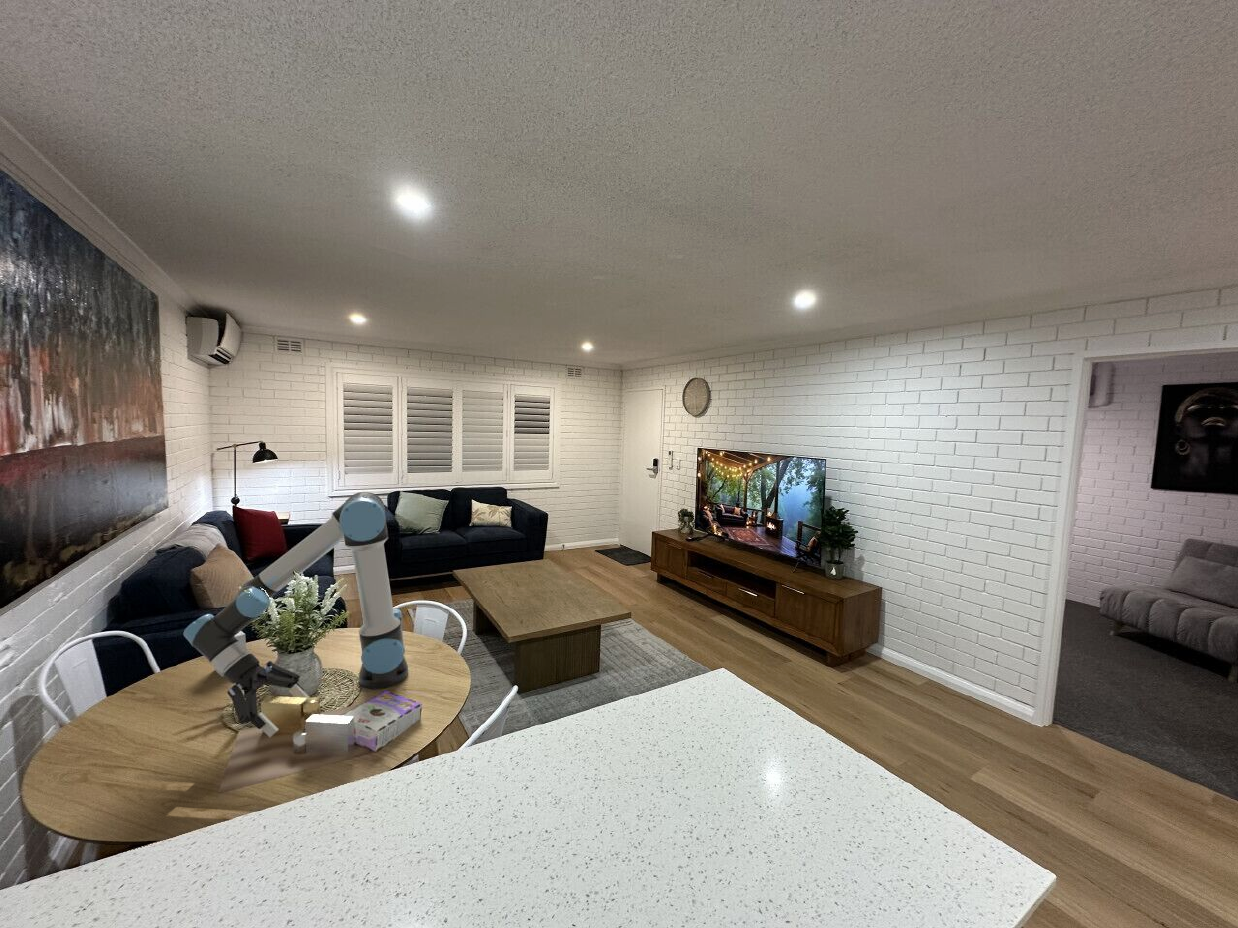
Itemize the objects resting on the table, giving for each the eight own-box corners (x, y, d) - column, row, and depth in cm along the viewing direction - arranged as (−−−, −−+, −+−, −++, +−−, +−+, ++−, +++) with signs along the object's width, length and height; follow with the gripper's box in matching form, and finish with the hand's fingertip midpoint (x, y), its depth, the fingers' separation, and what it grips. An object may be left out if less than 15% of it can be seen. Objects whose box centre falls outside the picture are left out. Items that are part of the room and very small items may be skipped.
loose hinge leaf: (271, 724, 141) (270, 694, 140) (323, 727, 140) (322, 697, 139) (261, 733, 137) (259, 702, 136) (314, 736, 136) (313, 705, 135)
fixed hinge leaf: (300, 743, 133) (299, 712, 132) (355, 746, 133) (354, 715, 132) (290, 754, 129) (288, 721, 128) (346, 757, 129) (346, 724, 128)
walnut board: (239, 734, 138) (239, 730, 138) (368, 705, 153) (368, 702, 153) (218, 797, 116) (218, 793, 116) (371, 756, 131) (371, 752, 131)
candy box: (384, 708, 151) (336, 736, 136) (386, 689, 151) (338, 715, 135) (420, 722, 146) (375, 753, 131) (422, 703, 146) (377, 731, 130)
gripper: (261, 649, 149) (312, 699, 151) (186, 697, 125) (248, 757, 126) (278, 633, 149) (328, 684, 150) (206, 678, 124) (267, 738, 125)
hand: (292, 717), depth 138 cm, fingers open, 13 cm apart
